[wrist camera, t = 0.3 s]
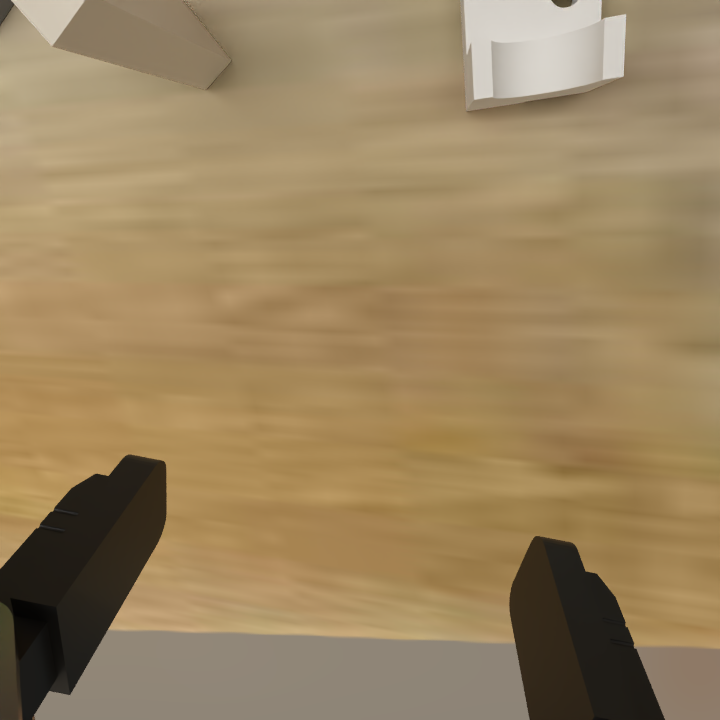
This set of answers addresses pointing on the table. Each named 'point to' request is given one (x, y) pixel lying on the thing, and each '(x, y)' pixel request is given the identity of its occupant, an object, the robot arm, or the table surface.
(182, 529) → the table surface
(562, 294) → the table surface
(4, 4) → the drying rack
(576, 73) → the bracket
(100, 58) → the beige rectangular block
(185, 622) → the table surface
